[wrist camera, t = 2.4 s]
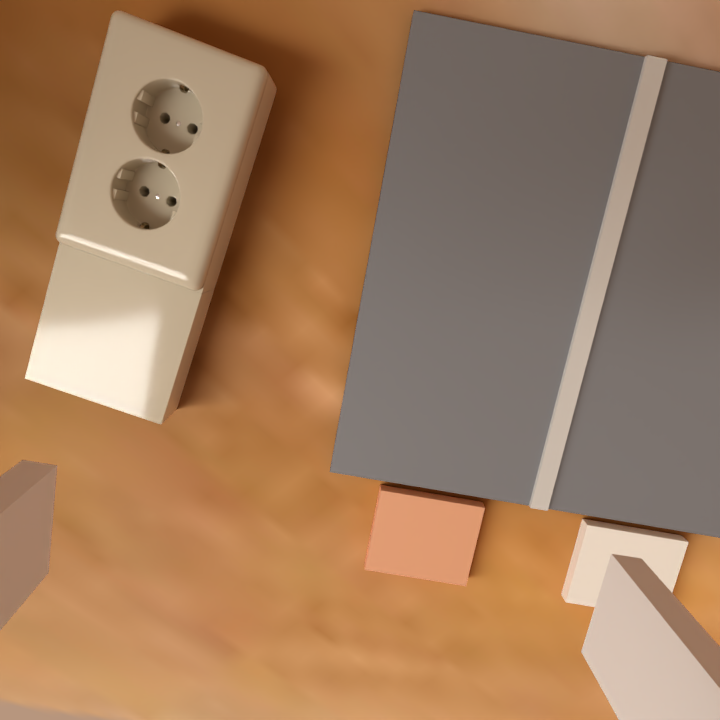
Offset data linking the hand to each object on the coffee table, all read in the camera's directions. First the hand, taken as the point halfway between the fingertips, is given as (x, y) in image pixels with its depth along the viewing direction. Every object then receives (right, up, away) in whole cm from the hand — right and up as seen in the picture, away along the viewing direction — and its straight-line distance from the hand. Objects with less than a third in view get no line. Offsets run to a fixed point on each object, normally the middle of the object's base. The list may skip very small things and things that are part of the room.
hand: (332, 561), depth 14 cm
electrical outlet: (-10, +12, +18) cm, 24 cm away
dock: (+12, +5, +19) cm, 23 cm away
